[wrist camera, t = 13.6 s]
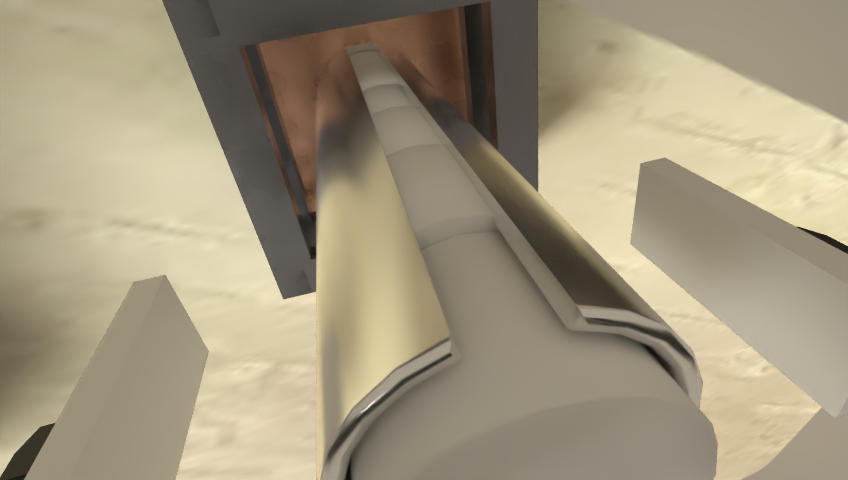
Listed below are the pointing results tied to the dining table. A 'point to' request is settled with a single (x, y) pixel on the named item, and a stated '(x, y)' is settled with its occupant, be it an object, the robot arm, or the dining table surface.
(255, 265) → the dining table surface
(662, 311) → the dining table surface
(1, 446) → the dining table surface
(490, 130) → the collar stand
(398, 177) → the white tall cylinder
